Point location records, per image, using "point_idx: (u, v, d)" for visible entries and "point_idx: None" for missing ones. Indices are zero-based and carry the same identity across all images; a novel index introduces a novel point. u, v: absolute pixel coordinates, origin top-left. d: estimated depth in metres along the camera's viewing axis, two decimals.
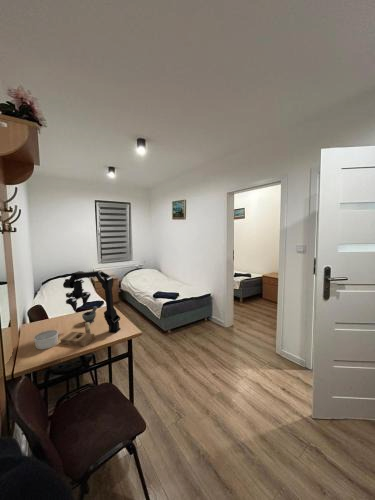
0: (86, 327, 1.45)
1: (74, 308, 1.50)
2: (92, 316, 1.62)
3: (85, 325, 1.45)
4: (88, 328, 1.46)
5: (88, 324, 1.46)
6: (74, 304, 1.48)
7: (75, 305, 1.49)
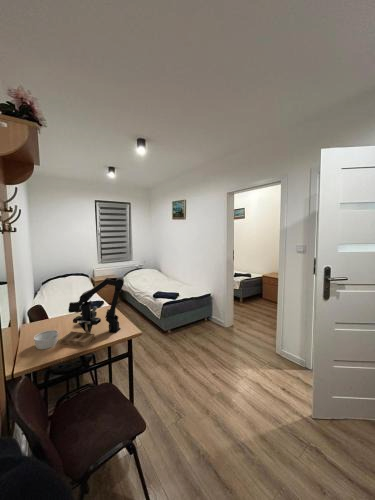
0: (86, 327, 1.45)
1: None
2: None
3: (85, 325, 1.45)
4: None
5: None
6: None
7: None
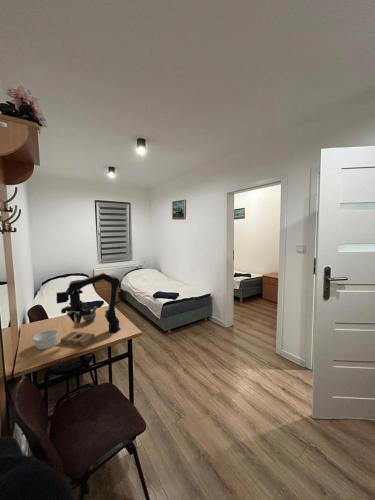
0: (75, 318, 1.36)
1: None
2: (92, 316, 1.62)
3: (74, 316, 1.36)
4: None
5: None
6: None
7: (69, 316, 1.36)
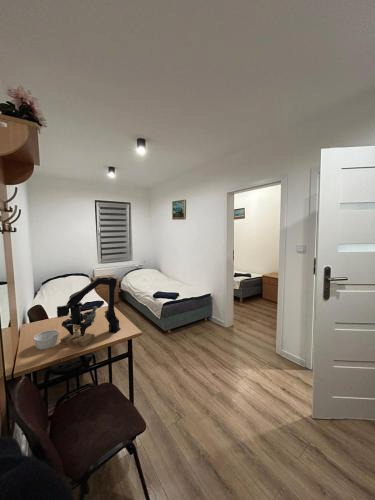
0: (76, 334, 1.37)
1: None
2: (92, 316, 1.62)
3: (75, 331, 1.36)
4: (78, 335, 1.37)
5: (78, 330, 1.37)
6: None
7: None
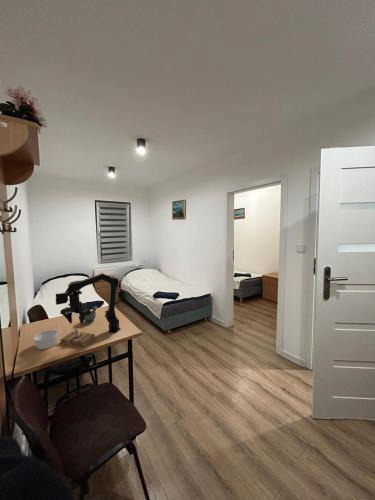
0: (76, 334, 1.37)
1: None
2: (92, 316, 1.62)
3: (75, 331, 1.36)
4: (78, 335, 1.37)
5: (78, 330, 1.37)
6: None
7: (65, 317, 1.36)
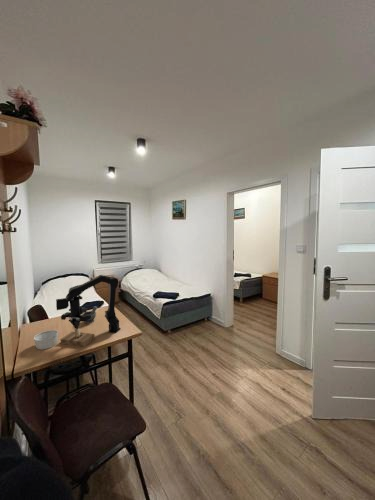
0: (76, 334, 1.37)
1: None
2: (92, 316, 1.62)
3: (75, 331, 1.36)
4: (78, 335, 1.37)
5: (78, 330, 1.37)
6: None
7: (71, 323, 1.35)
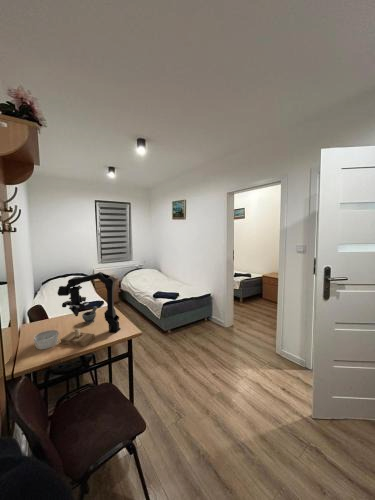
0: (76, 334, 1.37)
1: None
2: (92, 316, 1.62)
3: (75, 331, 1.36)
4: (78, 335, 1.37)
5: (78, 330, 1.37)
6: None
7: (71, 310, 1.46)
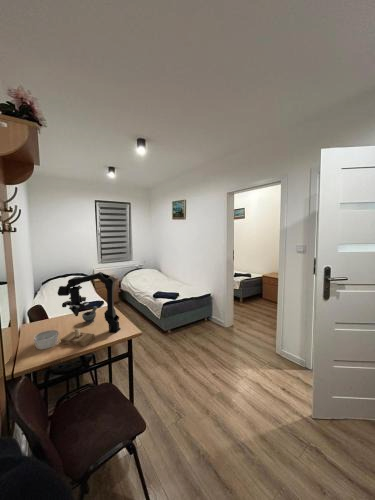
0: (76, 334, 1.37)
1: None
2: (92, 316, 1.62)
3: (75, 331, 1.36)
4: (78, 335, 1.37)
5: (78, 330, 1.37)
6: None
7: (71, 310, 1.46)
